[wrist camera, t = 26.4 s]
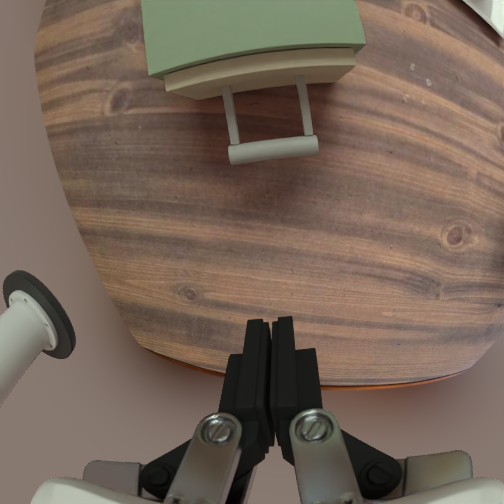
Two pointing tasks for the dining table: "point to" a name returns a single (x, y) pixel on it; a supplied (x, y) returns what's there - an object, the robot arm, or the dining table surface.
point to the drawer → (264, 76)
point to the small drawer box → (242, 29)
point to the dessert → (490, 12)
